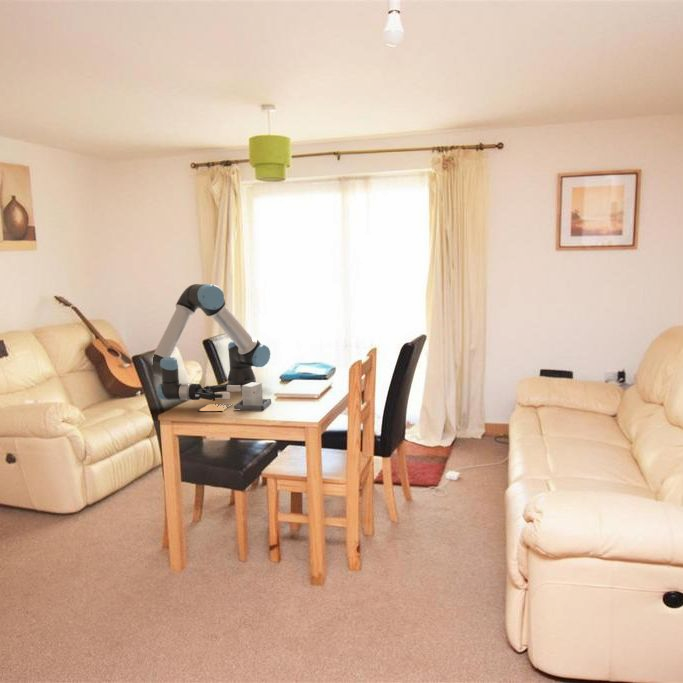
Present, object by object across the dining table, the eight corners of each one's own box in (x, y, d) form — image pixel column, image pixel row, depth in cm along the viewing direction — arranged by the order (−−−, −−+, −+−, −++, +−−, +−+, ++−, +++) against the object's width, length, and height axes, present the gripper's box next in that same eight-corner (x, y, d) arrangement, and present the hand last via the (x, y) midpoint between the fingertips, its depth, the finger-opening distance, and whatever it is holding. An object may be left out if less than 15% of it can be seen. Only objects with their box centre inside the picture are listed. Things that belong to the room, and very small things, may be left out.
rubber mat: (207, 404, 267) (207, 403, 267) (232, 404, 265) (232, 403, 265) (197, 411, 256) (197, 410, 256) (222, 412, 254) (222, 410, 254)
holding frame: (243, 403, 268) (243, 398, 267) (271, 403, 266) (271, 399, 265) (234, 410, 256) (234, 406, 255) (263, 410, 253) (263, 406, 253)
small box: (253, 404, 265) (252, 381, 264) (263, 405, 263) (262, 382, 261) (242, 408, 258) (241, 385, 257) (252, 409, 256) (251, 386, 254)
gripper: (202, 393, 277) (244, 393, 273) (179, 406, 253) (225, 407, 249) (201, 377, 276) (243, 377, 272) (178, 390, 251) (224, 390, 248)
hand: (235, 391), depth 260 cm, fingers open, 13 cm apart
